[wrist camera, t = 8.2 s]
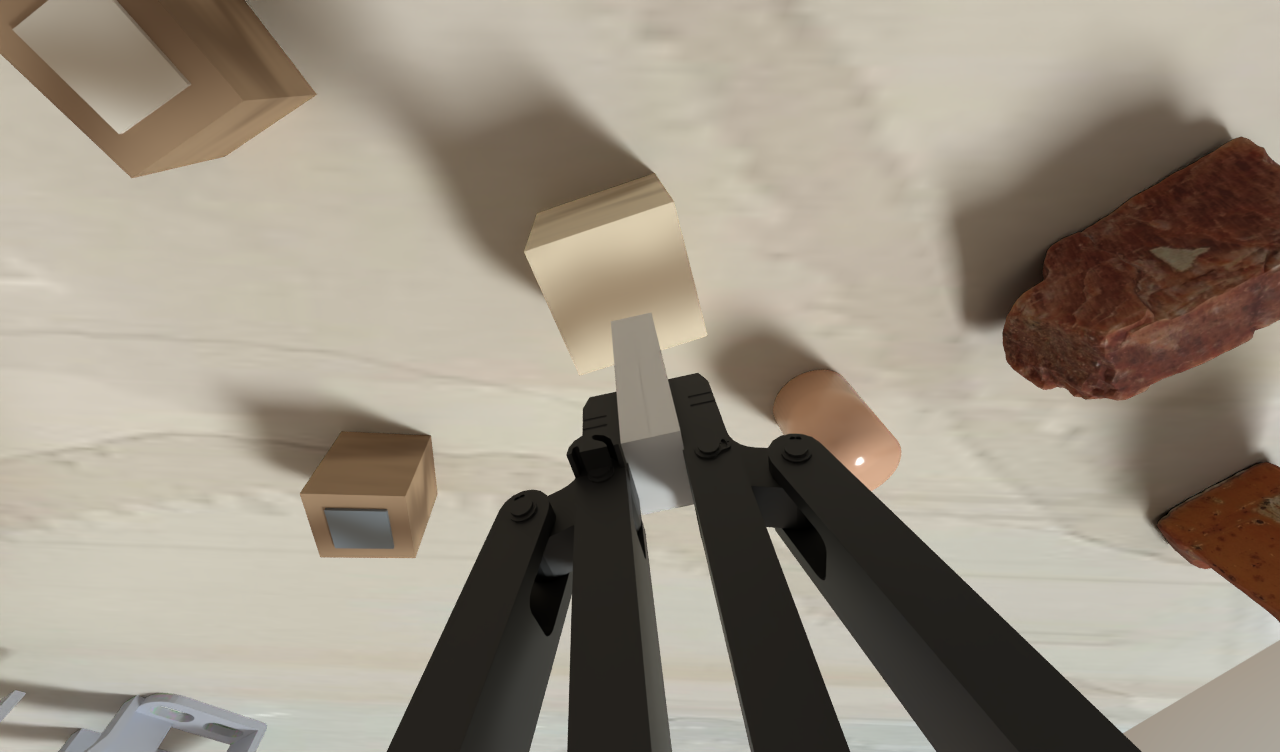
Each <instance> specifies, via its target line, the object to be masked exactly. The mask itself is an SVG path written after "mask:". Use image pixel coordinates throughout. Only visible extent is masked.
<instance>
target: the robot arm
mask: <svg viewBox="0 0 1280 752" xmlns="http://www.w3.org/2000/svg"><path fill="white" fill-rule="evenodd" d="M611 330H612V342H613V355H614V367H615V379H616V392H613V393H608V394H604V395H599V396H595V397H590V398H589V399H588V401H587V403H586V405H585V406H584V408H583V436H581V437H580V438H578V439H577V440H575V441H574V442H573V443H572V445H571V446H570V447H569V449H568V452H567V458H568V460H569V463H570V465H571V468H572V470H573V473H574V475H575V480H574V481H573V482H572V483H570V484H569V485H568V486H566V487H565V488H563V489H561V490H559V491H557V492H555V493H553V494H551V495H549V496H547V495H546V494H544V493H543V492H541V491H538V490H527V491H522V492H520V493H518V494H516V495H514V496H512V497H511V498H510V499H509V500H507V501H506V502H505V503H504V505H503V506H502V508H501V509H500V510H499V513H498V515H497V517H496V519H495V521H494V523H493V525H492V527H491V530H490V532H489V534H488V536H487V538H486V540H485V542H484V545H483V547H482V549H481V551H480V553H479V555H478V557H477V560H476V562H475V564H474V566H473V568H472V570H471V572H470V575H469V577H468V579H467V581H466V583H465V585H464V587H463V590H462V592H461V594H460V596H459V598H458V600H457V602H456V605H455V607H454V609H453V611H452V613H451V615H450V617H449V620H448V622H447V624H446V626H445V628H444V630H443V632H442V634H441V637H440V639H439V641H438V643H437V645H436V647H435V649H434V652H433V654H432V656H431V658H430V660H429V662H428V664H427V667H426V669H425V671H424V673H423V675H422V677H421V679H420V682H419V684H418V686H417V688H416V690H415V692H414V694H413V697H412V699H411V701H410V703H409V705H408V707H407V709H406V712H405V714H404V716H403V718H402V720H401V722H400V724H399V727H398V729H397V731H396V733H395V735H394V737H393V739H392V741H391V744H390V746H389V748H388V750H387V752H529V750H530V747H531V743H532V739H533V735H534V732H535V728H536V724H537V721H538V717H539V713H540V710H541V706H542V702H543V699H544V695H545V691H546V687H547V684H548V680H549V676H550V673H551V669H552V665H553V662H554V658H555V654H556V651H557V647H558V643H559V640H560V636H561V632H562V628H563V625H564V621H565V617H566V614H567V610H568V606H569V603H570V599H571V595H572V615H571V649H570V683H569V716H568V750H567V752H672V748H671V739H670V731H669V723H668V715H667V706H666V698H665V690H664V682H663V674H662V665H661V657H660V649H659V641H658V632H657V624H656V616H655V608H654V599H653V591H652V583H651V575H650V566H649V558H648V550H647V542H646V534H645V529H644V526H643V522H642V519H641V512H642V515H644V514H649V513H654V512H659V511H664V510H669V509H673V508H678V507H683V506H688V505H693V504H694V506H695V510H696V515H697V520H698V525H699V530H700V535H701V538H702V542H703V546H704V550H705V555H706V559H707V563H708V568H709V572H710V576H711V581H712V585H713V589H714V594H715V598H716V602H717V607H718V611H719V615H720V620H721V624H722V628H723V633H724V637H725V641H726V646H727V650H728V654H729V659H730V663H731V667H732V672H733V676H734V680H735V685H736V689H737V693H738V698H739V702H740V706H741V711H742V715H743V719H744V724H745V728H746V732H747V737H748V741H749V745H750V750H751V752H850V750H849V747H848V745H847V742H846V739H845V737H844V734H843V731H842V729H841V726H840V723H839V721H838V718H837V715H836V713H835V710H834V707H833V705H832V702H831V699H830V697H829V694H828V691H827V689H826V686H825V683H824V681H823V678H822V675H821V673H820V670H819V667H818V664H817V662H816V659H815V656H814V654H813V651H812V648H811V646H810V643H809V640H808V638H807V635H806V632H805V630H804V627H803V624H802V622H801V619H800V616H799V614H798V611H797V608H796V606H795V603H794V600H793V598H792V595H791V592H790V590H789V587H788V584H787V582H786V579H785V576H784V574H783V571H782V568H781V566H780V563H779V560H778V558H777V555H776V552H775V550H774V547H773V544H772V541H771V539H770V536H769V533H768V531H767V528H766V527H774V528H775V530H776V532H777V533H778V535H779V536H780V537H781V539H782V540H783V541H784V543H785V544H786V546H787V547H788V548H789V550H790V551H791V552H792V554H793V555H794V557H795V558H796V559H797V561H798V562H799V563H800V565H801V566H802V568H803V569H804V570H805V572H806V573H807V574H808V576H809V577H810V579H811V580H812V581H813V583H814V584H815V585H816V587H817V588H818V590H819V591H820V592H821V594H822V595H823V596H824V598H825V599H826V601H827V602H828V603H829V605H830V606H831V607H832V609H833V610H834V612H835V613H836V614H837V616H838V617H839V618H840V620H841V621H842V623H843V624H844V625H845V627H846V628H847V629H848V631H849V632H850V633H851V635H852V636H853V638H854V639H855V640H856V642H857V643H858V644H859V646H860V647H861V649H862V650H863V651H864V653H865V654H866V655H867V657H868V658H869V660H870V661H871V662H872V664H873V665H874V666H875V668H876V669H877V671H878V672H879V673H880V675H881V676H882V677H883V679H884V680H885V682H886V683H887V684H888V686H889V687H890V688H891V690H892V691H893V693H894V694H895V695H896V697H897V698H898V699H899V701H900V702H901V704H902V705H903V706H904V708H905V709H906V710H907V712H908V713H909V715H910V716H911V717H912V719H913V720H914V721H915V723H916V724H917V725H918V727H919V728H920V730H921V731H922V732H923V734H924V735H925V736H926V738H927V739H928V741H929V742H930V743H931V745H932V746H933V747H934V749H935V750H936V752H1141V751H1140V750H1139V749H1138V748H1137V747H1136V746H1135V745H1134V744H1133V743H1132V742H1131V741H1130V740H1129V739H1128V738H1126V736H1124V734H1123V733H1122V732H1120V731H1119V730H1118V729H1117V728H1116V727H1115V726H1114V725H1113V724H1112V723H1111V722H1110V721H1109V720H1108V719H1107V718H1106V717H1105V716H1104V715H1103V714H1102V713H1101V712H1100V711H1099V710H1098V709H1097V708H1096V707H1095V706H1093V705H1092V704H1091V703H1090V702H1089V701H1088V700H1087V699H1086V698H1085V697H1084V696H1083V695H1082V694H1081V693H1080V692H1079V691H1078V690H1077V689H1076V688H1075V687H1074V686H1073V685H1072V684H1071V683H1070V682H1069V681H1067V680H1066V679H1065V678H1064V677H1063V676H1062V675H1061V674H1060V673H1059V672H1058V671H1057V670H1056V669H1055V668H1054V667H1053V666H1052V665H1051V664H1050V663H1049V662H1048V661H1047V660H1046V659H1045V658H1044V657H1043V656H1042V655H1040V654H1039V653H1038V652H1037V651H1036V650H1035V649H1034V648H1033V647H1032V646H1031V645H1030V644H1029V643H1028V642H1027V641H1026V640H1025V639H1024V638H1023V637H1022V636H1021V635H1020V634H1019V633H1018V632H1017V631H1016V630H1015V629H1013V628H1012V627H1011V626H1010V625H1009V624H1008V623H1007V622H1006V621H1005V620H1004V619H1003V618H1002V617H1001V616H1000V615H999V614H998V613H997V612H996V611H995V610H994V609H993V608H992V607H991V606H990V605H989V604H987V603H986V602H985V601H984V600H983V599H982V598H981V597H980V596H979V595H978V594H977V593H976V592H975V591H974V590H973V589H972V588H971V587H970V586H969V585H968V584H967V583H966V582H965V581H964V580H963V579H962V578H960V577H959V576H958V575H957V574H956V573H955V572H954V571H953V570H952V569H951V568H950V567H949V566H948V565H947V564H946V563H945V562H944V561H943V560H942V559H941V558H940V557H939V556H938V555H937V554H936V553H935V552H933V551H932V550H931V549H930V548H929V547H928V546H927V545H926V544H925V543H924V542H923V541H922V540H921V539H920V538H919V537H918V536H917V535H916V534H915V533H914V532H913V531H912V530H911V529H910V528H909V527H907V526H906V525H905V524H904V523H903V522H902V521H901V520H900V519H899V518H898V517H897V516H896V515H895V514H894V513H893V512H892V511H891V510H890V509H889V508H888V507H887V506H886V505H885V504H884V503H883V502H882V501H880V500H879V499H878V498H877V497H876V496H875V495H874V494H873V493H872V492H871V491H870V490H869V489H868V488H867V487H866V486H865V485H864V484H863V483H862V482H861V481H860V480H859V479H858V478H857V477H856V476H855V475H853V474H852V473H851V472H850V471H849V470H848V469H847V468H846V467H845V466H844V465H843V464H842V463H841V462H840V461H839V460H838V459H837V458H836V457H835V456H834V455H833V454H832V453H831V452H830V451H829V450H827V449H826V448H825V447H824V446H823V445H822V444H821V443H820V442H819V441H817V440H816V439H814V438H813V437H811V436H807V435H804V434H787V435H782V436H780V437H778V438H777V439H775V440H773V441H772V443H771V444H770V446H769V447H768V448H755V447H747V446H744V445H741V444H739V443H737V442H735V441H734V440H733V439H732V438H730V436H729V435H728V433H727V431H726V428H725V425H724V423H723V420H722V417H721V415H720V412H719V409H718V407H717V404H716V402H715V398H714V396H713V393H712V390H711V388H710V385H709V382H708V380H706V379H705V378H704V377H703V376H701V375H700V374H699V373H695V374H691V375H686V376H681V377H677V378H672V379H668V378H667V374H666V370H665V366H664V362H663V358H662V354H661V349H660V345H659V341H658V337H657V333H656V329H655V325H654V321H653V317H652V313H646V314H642V315H637V316H633V317H629V318H624V319H620V320H615V321H611ZM640 509H641V510H640Z"/></svg>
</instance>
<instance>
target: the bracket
mask: <svg viewBox="0 0 1280 752" xmlns="http://www.w3.org/2000/svg"><path fill="white" fill-rule="evenodd" d="M25 694H26V693H24V692H21V691H17V690H15V691H13V692H12V693H10V694H9V695H7V696H6V697H4V698H3V699H1V700H0V722H1V721H2V720H3V719H4V718H5V716H6V715H7V714H8V713H9V712H10V711H11V710H12V709H13V708H14V706H15V705H16V704H17V703H18V702H19V701H20V700H21V699H22V698H23V696H24V695H25ZM161 706H163V707H161ZM165 707H168V708H171V709H175V710H178V711H181V712H184V713H187V714H184V713H180V712H177V711H174V710H171V709H168V708H165ZM215 723H218V724H222V725H225V726H228V727H231V728H234V729H231V728H228V727H225V726H222V725H218V724H215ZM171 727H173V728H176V729H179V730H183V731H186V732H190V733H193V734H196V735H200V736H203V737H206V738H210V739H213V740H216V741H220V742H223V743H226V744H230V747H229V748H228V750H227V752H256V750H257V748H258V746H259V744H260V742H261V740H262V738H263V735H264V733H265V731H266V729H267V725H266V724H265V723H263V722H260V721H257V720H254V719H251V718H248V717H245V716H242V715H239V714H236V713H233V712H230V711H227V710H224V709H221V708H218V707H215V706H212V705H209V704H206V703H203V702H200V701H197V700H194V699H191V698H188V697H185V696H181V695H177V694H168V693H161V694H154V695H150V696H148V697H146V698H143V697H140V696H137V695H136V696H135V697H133V698H131V699H130V700H128V701H127V702H125V703H124V704H123V705H122V707H121V708H120V709H119V711H118V712H117V714H116V715H115V716H114V718H113V719H112V720H111V722H110V723H109V724H108V726H107V727H106V729H105V730H104V731H103V733H99V732H95V731H91V730H88V729H84V728H82V729H80V730H79V731H77V732H75V733H74V734H72V735H71V736H70V737H69V739H68V740H67V741H66V742H65V744H64V745H63V746H62V748H61V749H60V750H59V751H58V752H168V751H165V750H161V749H158V747H159V745H160V744H161V742H162V741H163V739H164V738H165V736H166V734H167V733H168V731H169V730H170V728H171Z"/></svg>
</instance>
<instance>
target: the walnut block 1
mask: <svg viewBox="0 0 1280 752" xmlns="http://www.w3.org/2000/svg"><path fill="white" fill-rule="evenodd" d="M0 54H1V55H2V56H3V57H4V58H5V59H6V60H8V61H9V62H10V63H11V64H12V65H13V66H14V67H15V68H16V69H17V70H18V71H19V72H20V73H21V74H22V75H23V76H24V77H25V78H27V79H28V80H29V81H30V82H31V83H32V84H33V85H34V86H35V87H36V88H37V89H38V90H39V91H40V92H41V93H42V94H43V95H44V96H46V97H47V98H48V99H49V100H50V101H51V102H52V103H53V104H54V105H55V106H56V107H57V108H58V109H59V110H60V111H61V112H62V113H64V114H65V115H66V116H67V117H68V118H69V119H70V120H71V121H72V122H73V123H74V124H75V125H76V126H77V127H78V128H79V129H80V130H81V131H83V132H84V133H85V134H86V135H87V136H88V137H89V138H90V139H91V140H92V141H93V142H94V143H95V144H96V145H97V146H98V147H99V148H101V149H102V150H103V151H104V152H105V153H106V154H107V155H108V156H109V157H110V158H111V159H112V160H113V161H114V162H115V163H116V164H117V165H118V166H120V167H121V168H122V169H123V170H124V171H125V172H126V173H127V174H128V175H129V176H130V177H131V178H135V177H139V176H144V175H148V174H152V173H156V172H161V171H165V170H169V169H173V168H178V167H182V166H186V165H190V164H195V163H199V162H203V161H207V160H212V159H216V158H220V157H224V156H226V155H228V154H229V153H231V152H232V151H234V150H235V149H237V148H238V147H240V146H241V145H243V144H244V143H246V142H247V141H249V140H250V139H252V138H253V137H255V136H256V135H258V134H259V133H260V132H262V131H263V130H265V129H266V128H268V127H269V126H271V125H272V124H274V123H275V122H277V121H278V120H280V119H281V118H283V117H284V116H286V115H287V114H289V113H290V112H292V111H293V110H295V109H296V108H298V107H299V106H301V105H302V104H304V103H305V102H307V101H308V100H310V99H311V98H312V97H314V96H315V95H317V94H316V93H315V91H314V90H313V89H312V88H311V86H310V85H309V84H308V82H307V81H306V80H305V78H304V77H303V76H302V75H301V73H300V72H299V71H298V69H297V68H296V67H295V65H294V64H293V63H292V62H291V60H290V59H289V58H288V56H287V55H286V54H285V52H284V51H283V50H282V49H281V47H280V46H279V45H278V43H277V42H276V41H275V39H274V38H273V37H272V36H271V34H270V33H269V32H268V30H267V29H266V28H265V26H264V25H263V24H262V23H261V21H260V20H259V19H258V17H257V16H256V15H255V13H254V12H253V11H252V9H251V8H250V7H249V6H248V4H247V3H246V2H245V0H0Z"/></svg>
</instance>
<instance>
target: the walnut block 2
mask: <svg viewBox="0 0 1280 752" xmlns="http://www.w3.org/2000/svg"><path fill="white" fill-rule="evenodd" d="M300 496H301V499H302V502H303V505H304V508H305V511H306V514H307V517H308V520H309V524H310V527H311V530H312V533H313V536H314V539H315V542H316V545H317V548H318V551H319V555H320V557H349V558H415V557H416V554H417V552H418V549H419V546H420V543H421V540H422V537H423V534H424V531H425V529H426V526H427V523H428V520H429V517H430V514H431V511H432V508H433V506H434V503H435V500H436V497H437V486H436V477H435V468H434V459H433V450H432V441H431V436H429V435H408V434H386V433H365V432H344V431H342V432H341V433H340V435H339V436H338V438H337V439H336V441H335V442H334V444H333V445H332V447H331V448H330V450H329V451H328V453H327V454H326V455H325V457H324V458H323V460H322V461H321V463H320V464H319V466H318V467H317V469H316V470H315V472H314V473H313V475H312V476H311V478H310V479H309V481H308V482H307V484H306V485H305V487H304V488H303V490H302V491H301V493H300Z"/></svg>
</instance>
